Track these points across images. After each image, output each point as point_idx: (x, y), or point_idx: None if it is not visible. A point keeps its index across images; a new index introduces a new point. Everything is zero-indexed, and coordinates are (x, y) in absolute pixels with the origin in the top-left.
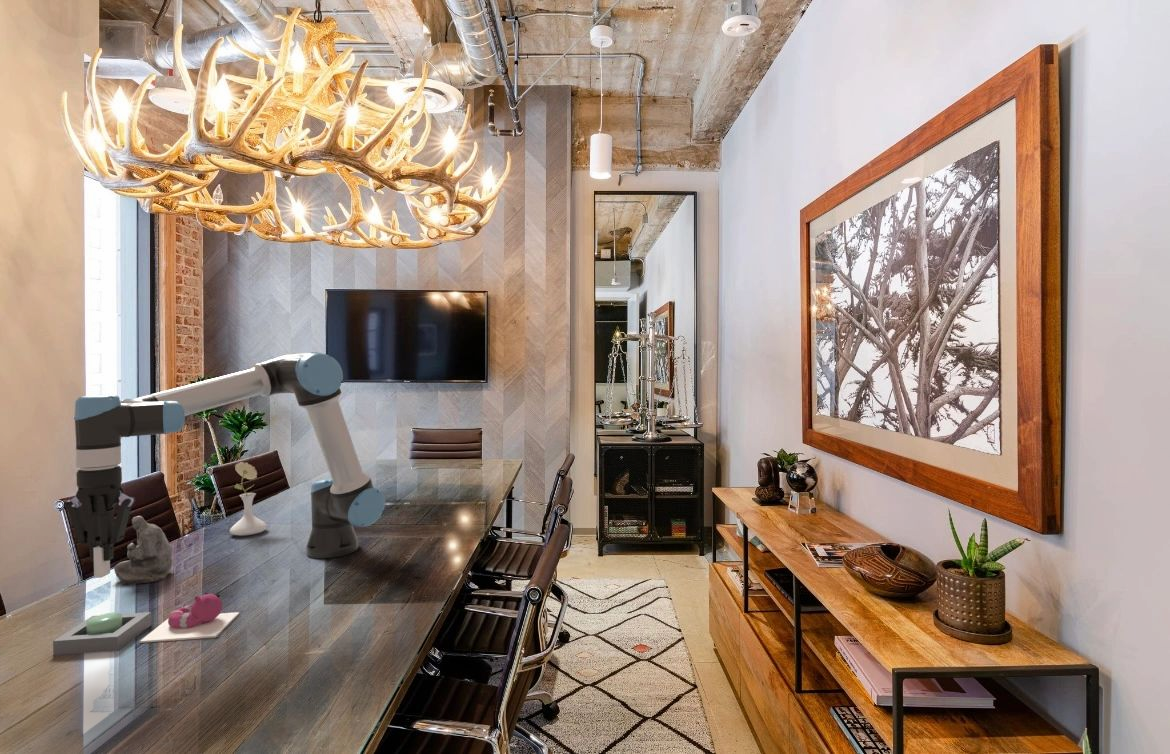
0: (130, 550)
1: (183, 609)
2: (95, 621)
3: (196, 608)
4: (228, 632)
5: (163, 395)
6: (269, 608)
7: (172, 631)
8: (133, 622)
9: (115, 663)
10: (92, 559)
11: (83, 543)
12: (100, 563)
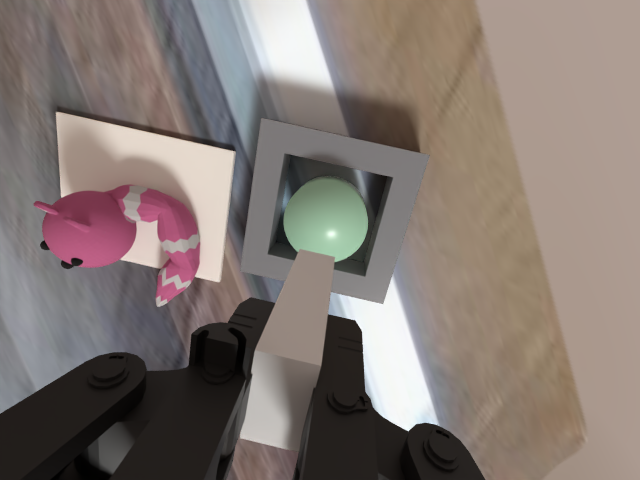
0: None
1: (168, 264)
2: (342, 209)
3: (92, 202)
4: (43, 134)
5: None
6: (10, 251)
7: (176, 183)
8: (257, 211)
9: (247, 32)
10: (344, 325)
11: (415, 431)
12: (292, 283)
